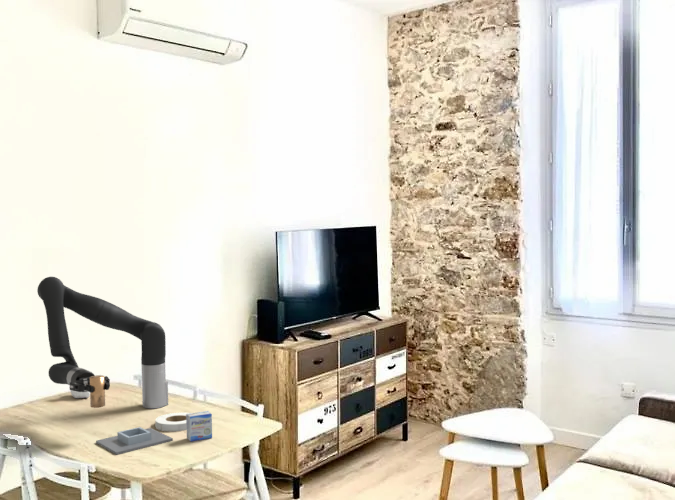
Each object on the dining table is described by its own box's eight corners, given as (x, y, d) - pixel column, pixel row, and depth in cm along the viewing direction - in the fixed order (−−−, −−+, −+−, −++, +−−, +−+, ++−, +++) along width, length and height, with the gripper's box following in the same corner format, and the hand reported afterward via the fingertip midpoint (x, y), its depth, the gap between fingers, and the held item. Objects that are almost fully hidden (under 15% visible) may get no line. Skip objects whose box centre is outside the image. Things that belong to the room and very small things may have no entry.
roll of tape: (170, 417, 265) (170, 410, 265) (206, 421, 260) (206, 413, 260) (146, 430, 251) (146, 422, 251) (183, 434, 246) (183, 426, 245)
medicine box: (189, 442, 236) (189, 416, 236) (186, 438, 240) (185, 413, 240) (212, 438, 240) (212, 413, 239) (208, 434, 244) (208, 410, 243)
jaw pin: (101, 403, 243) (101, 374, 243) (107, 405, 240) (106, 377, 239) (88, 405, 240) (87, 376, 240) (93, 408, 237) (92, 379, 236)
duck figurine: (72, 400, 299) (55, 382, 293) (85, 386, 303) (69, 369, 297) (86, 405, 291) (69, 387, 285) (99, 391, 295) (83, 373, 289)
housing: (150, 430, 249) (150, 420, 249) (172, 440, 238) (172, 431, 237) (96, 442, 236) (95, 433, 236) (116, 454, 224) (116, 444, 224)
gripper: (60, 372, 246) (78, 380, 233) (100, 366, 255) (120, 373, 242) (60, 393, 246) (79, 403, 233) (100, 386, 256) (120, 395, 243)
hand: (100, 388), depth 238 cm, fingers closed on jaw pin, 4 cm apart
